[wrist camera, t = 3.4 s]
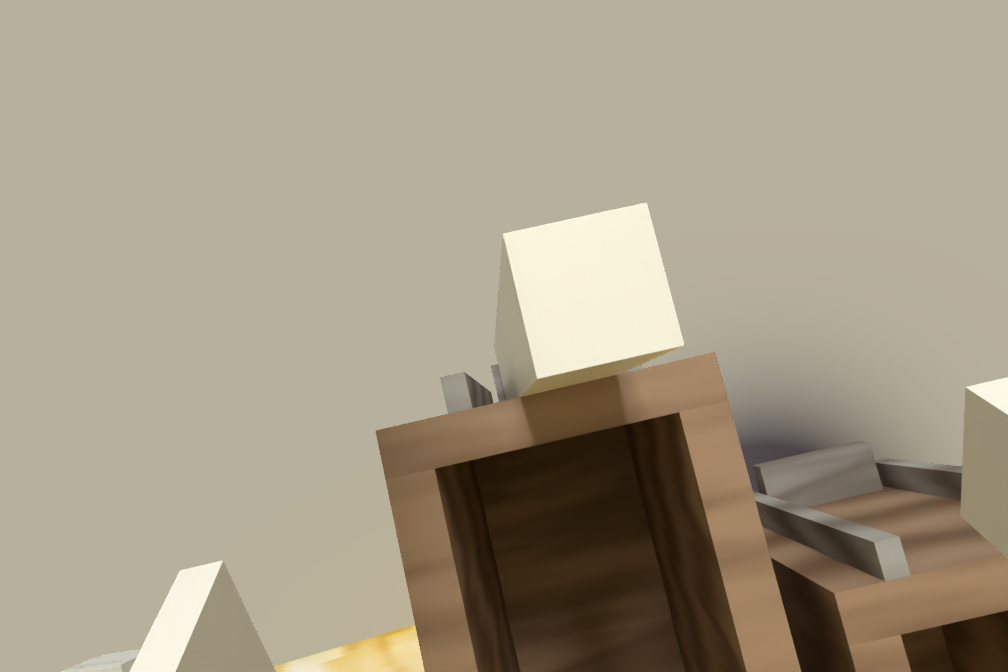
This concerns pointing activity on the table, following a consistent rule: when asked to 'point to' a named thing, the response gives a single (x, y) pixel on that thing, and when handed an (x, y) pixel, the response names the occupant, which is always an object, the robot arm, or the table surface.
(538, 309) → the white long bar
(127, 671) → the skincare box
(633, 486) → the lane rack
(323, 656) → the table surface
